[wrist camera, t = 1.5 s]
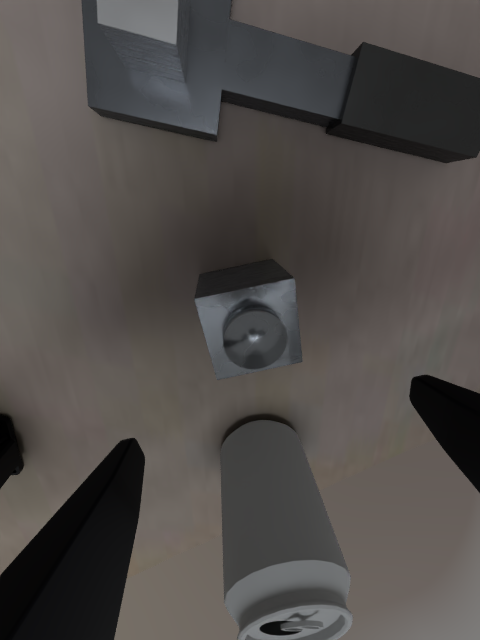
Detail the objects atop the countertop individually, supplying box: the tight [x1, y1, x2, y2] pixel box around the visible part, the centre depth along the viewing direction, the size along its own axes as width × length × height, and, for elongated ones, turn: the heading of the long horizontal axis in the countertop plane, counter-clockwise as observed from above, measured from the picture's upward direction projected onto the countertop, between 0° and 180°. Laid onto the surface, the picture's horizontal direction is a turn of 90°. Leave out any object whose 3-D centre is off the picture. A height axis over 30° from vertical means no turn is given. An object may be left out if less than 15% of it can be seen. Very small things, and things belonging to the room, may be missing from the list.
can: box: [220, 420, 353, 640], centre depth 18 cm, size 8×8×12 cm
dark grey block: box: [194, 259, 302, 380], centre depth 15 cm, size 5×5×6 cm
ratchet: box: [82, 0, 480, 163], centre depth 11 cm, size 20×6×4 cm, turn 81°
